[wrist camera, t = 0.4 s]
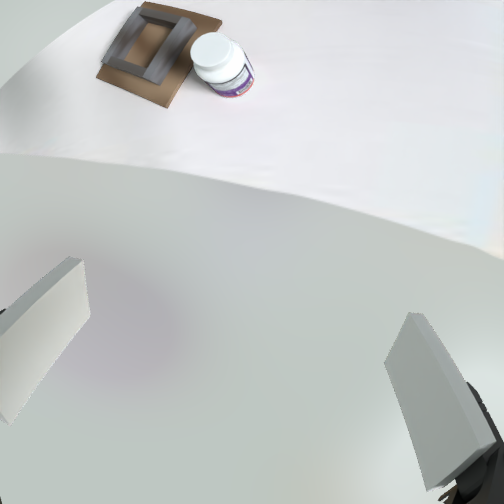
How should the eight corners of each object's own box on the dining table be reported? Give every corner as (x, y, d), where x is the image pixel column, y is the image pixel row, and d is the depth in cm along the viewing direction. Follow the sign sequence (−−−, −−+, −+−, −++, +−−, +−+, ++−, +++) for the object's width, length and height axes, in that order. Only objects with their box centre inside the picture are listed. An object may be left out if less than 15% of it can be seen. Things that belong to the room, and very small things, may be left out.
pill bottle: (212, 63, 32) (183, 31, 23) (254, 58, 31) (237, 22, 22) (212, 101, 34) (182, 77, 24) (256, 97, 33) (239, 68, 23)
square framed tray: (147, 3, 31) (135, -8, 28) (222, 22, 31) (214, 9, 27) (99, 78, 35) (83, 72, 31) (167, 108, 35) (153, 102, 31)
